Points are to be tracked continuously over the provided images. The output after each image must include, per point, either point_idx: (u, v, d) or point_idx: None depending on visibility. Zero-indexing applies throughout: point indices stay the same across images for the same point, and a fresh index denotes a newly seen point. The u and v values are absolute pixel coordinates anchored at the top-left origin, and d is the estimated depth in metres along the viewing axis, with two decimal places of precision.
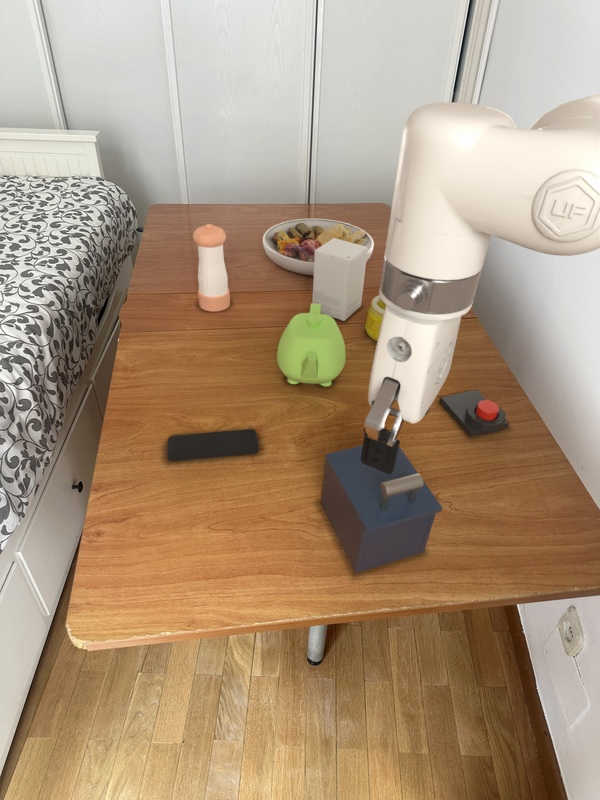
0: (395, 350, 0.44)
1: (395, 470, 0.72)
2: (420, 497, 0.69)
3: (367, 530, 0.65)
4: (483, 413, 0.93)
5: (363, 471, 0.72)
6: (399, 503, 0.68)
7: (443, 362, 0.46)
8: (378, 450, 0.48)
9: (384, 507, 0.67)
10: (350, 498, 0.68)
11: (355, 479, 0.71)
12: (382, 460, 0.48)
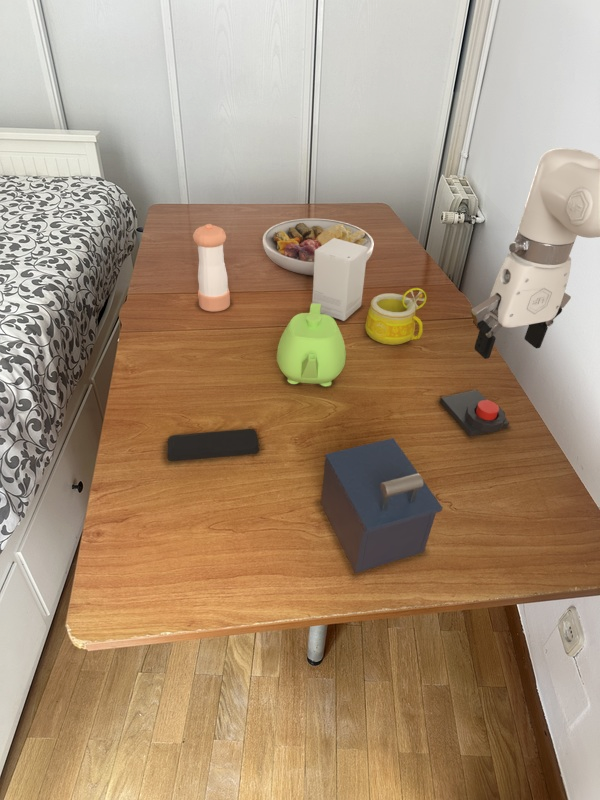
0: (507, 279, 0.77)
1: (395, 470, 0.72)
2: (420, 497, 0.69)
3: (367, 530, 0.65)
4: (483, 413, 0.93)
5: (363, 471, 0.72)
6: (399, 503, 0.68)
7: (537, 299, 0.77)
8: (481, 339, 0.82)
9: (384, 507, 0.67)
10: (350, 498, 0.68)
11: (355, 479, 0.71)
12: (482, 346, 0.82)
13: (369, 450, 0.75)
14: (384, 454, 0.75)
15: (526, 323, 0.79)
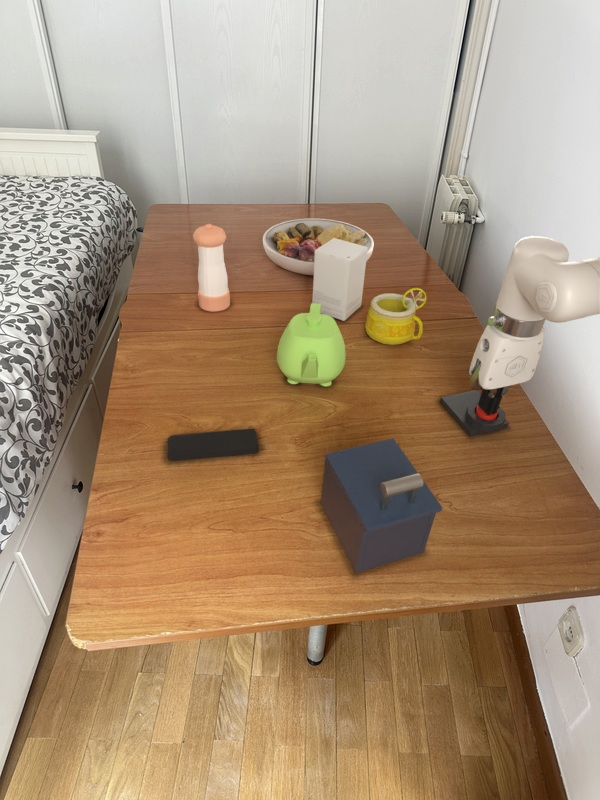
0: (487, 347, 0.85)
1: (395, 470, 0.72)
2: (420, 497, 0.69)
3: (367, 530, 0.65)
4: (482, 417, 0.94)
5: (363, 471, 0.72)
6: (399, 503, 0.68)
7: (514, 365, 0.85)
8: (484, 398, 0.92)
9: (384, 507, 0.67)
10: (350, 498, 0.68)
11: (355, 479, 0.71)
12: (485, 404, 0.92)
13: (369, 450, 0.75)
14: (384, 454, 0.75)
15: (504, 385, 0.87)
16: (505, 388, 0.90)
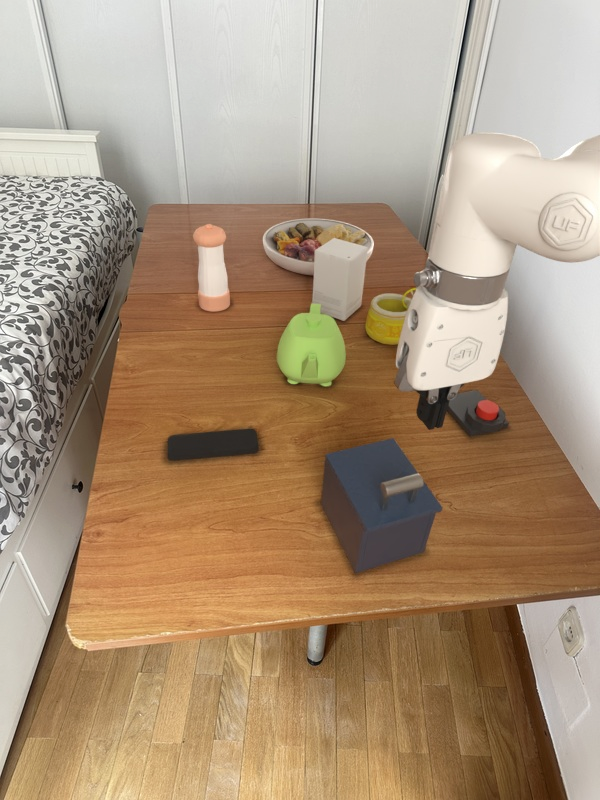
0: (418, 323, 0.54)
1: (395, 470, 0.72)
2: (420, 497, 0.69)
3: (367, 530, 0.65)
4: (483, 413, 0.93)
5: (363, 471, 0.72)
6: (399, 503, 0.68)
7: (461, 352, 0.54)
8: (423, 404, 0.61)
9: (384, 507, 0.67)
10: (350, 498, 0.68)
11: (355, 479, 0.71)
12: (423, 413, 0.61)
13: (369, 450, 0.75)
14: (384, 454, 0.75)
15: (448, 384, 0.56)
16: (453, 389, 0.59)
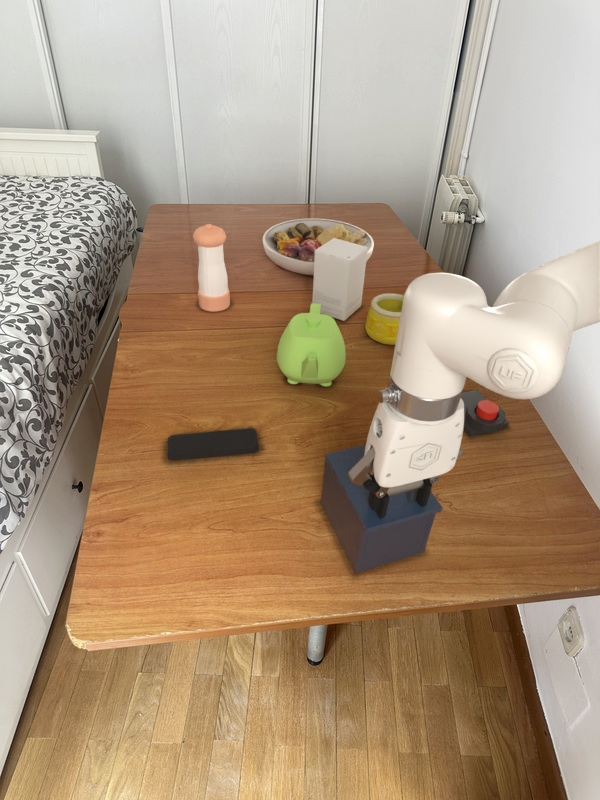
0: None
1: None
2: None
3: (367, 530, 0.65)
4: (483, 413, 0.93)
5: None
6: (399, 503, 0.68)
7: (422, 455, 0.58)
8: (373, 496, 0.65)
9: None
10: (350, 498, 0.68)
11: None
12: (374, 504, 0.65)
13: None
14: None
15: (412, 480, 0.61)
16: (432, 476, 0.64)
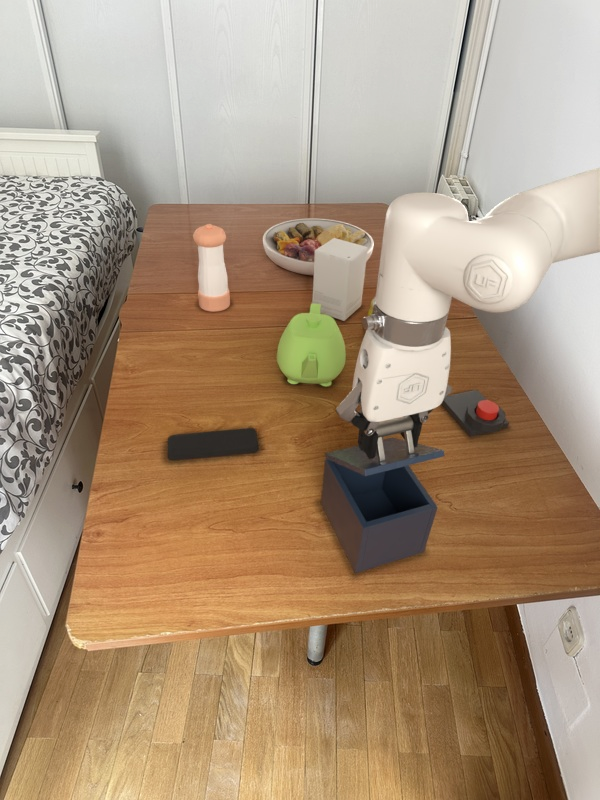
0: None
1: (394, 446, 0.71)
2: (420, 450, 0.67)
3: (365, 472, 0.62)
4: (483, 413, 0.93)
5: (362, 452, 0.71)
6: (398, 456, 0.66)
7: (409, 387, 0.58)
8: (362, 435, 0.64)
9: (381, 454, 0.65)
10: (348, 462, 0.67)
11: (353, 455, 0.70)
12: (363, 444, 0.64)
13: None
14: (383, 443, 0.74)
15: (400, 415, 0.60)
16: (421, 414, 0.64)
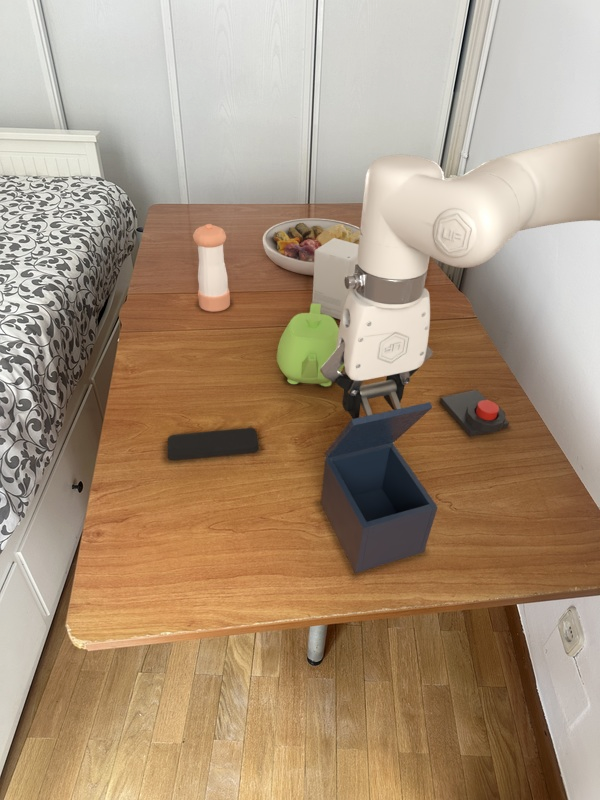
0: None
1: None
2: None
3: (353, 421, 0.63)
4: (483, 413, 0.93)
5: None
6: None
7: (390, 346, 0.61)
8: (346, 396, 0.67)
9: (369, 413, 0.66)
10: (340, 433, 0.67)
11: None
12: (347, 405, 0.67)
13: None
14: None
15: (382, 374, 0.63)
16: (403, 376, 0.66)
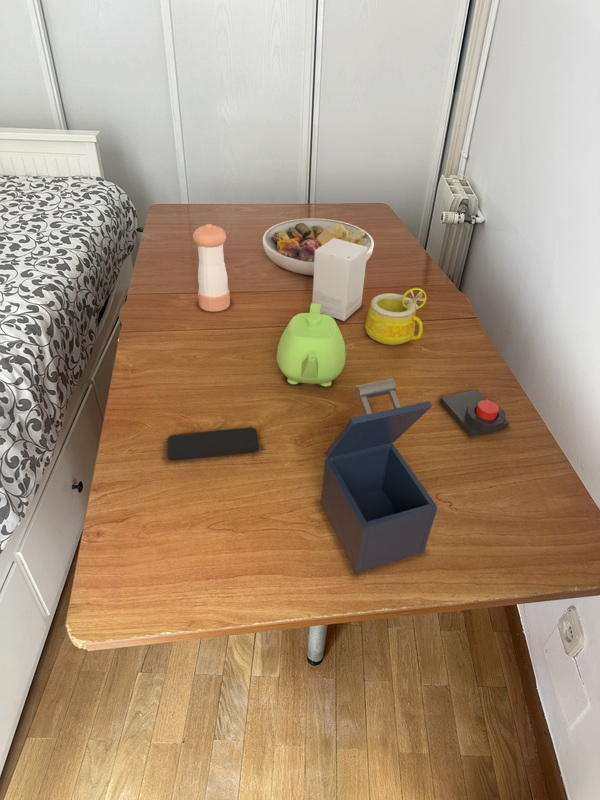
0: None
1: None
2: None
3: (352, 420, 0.63)
4: (483, 413, 0.93)
5: None
6: None
7: None
8: None
9: (368, 412, 0.66)
10: (340, 432, 0.67)
11: None
12: None
13: None
14: None
15: None
16: None
